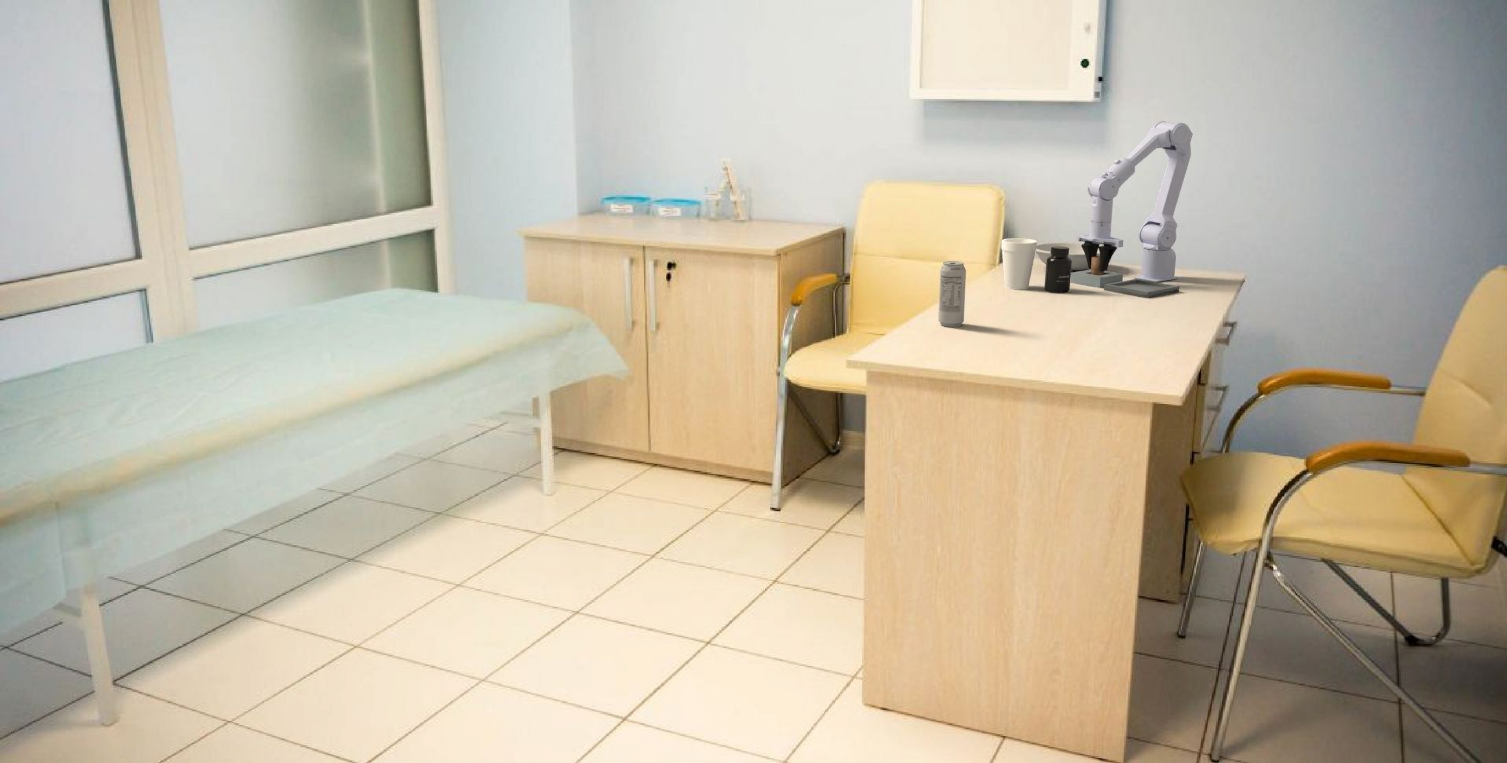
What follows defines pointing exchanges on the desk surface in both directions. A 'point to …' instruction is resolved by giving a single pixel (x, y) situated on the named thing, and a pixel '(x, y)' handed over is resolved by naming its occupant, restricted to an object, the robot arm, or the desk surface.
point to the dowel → (1096, 266)
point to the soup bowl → (1074, 254)
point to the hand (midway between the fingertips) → (1097, 269)
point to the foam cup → (1018, 262)
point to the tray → (1141, 288)
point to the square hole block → (1095, 278)
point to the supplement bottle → (1058, 270)
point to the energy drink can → (952, 294)
